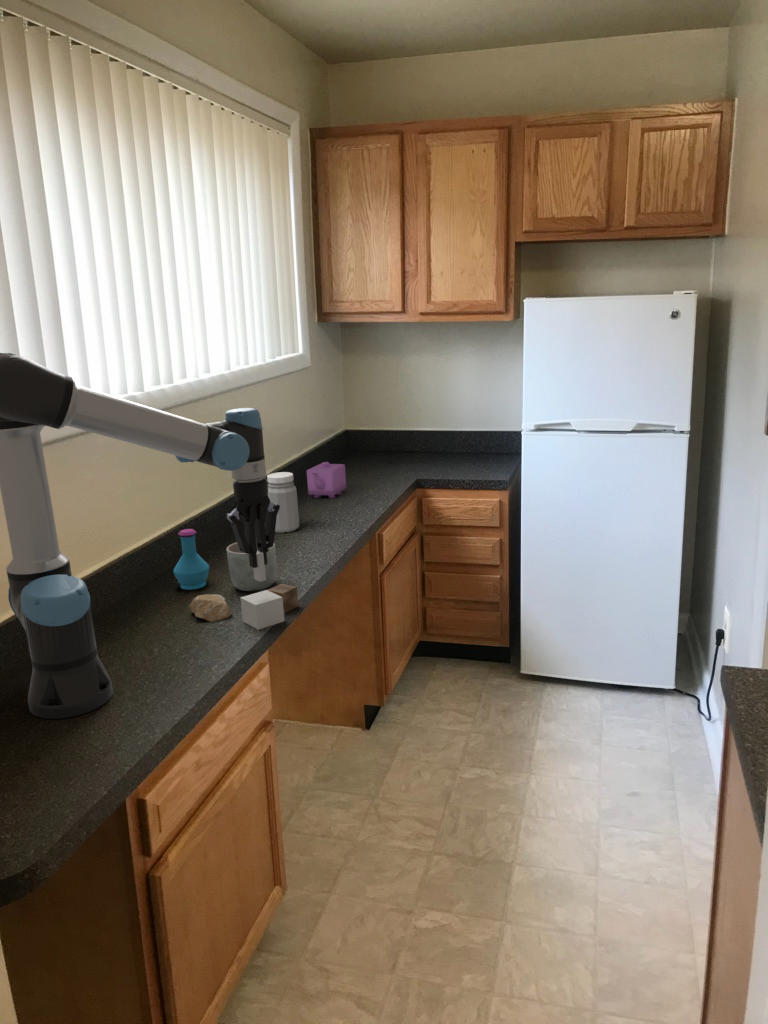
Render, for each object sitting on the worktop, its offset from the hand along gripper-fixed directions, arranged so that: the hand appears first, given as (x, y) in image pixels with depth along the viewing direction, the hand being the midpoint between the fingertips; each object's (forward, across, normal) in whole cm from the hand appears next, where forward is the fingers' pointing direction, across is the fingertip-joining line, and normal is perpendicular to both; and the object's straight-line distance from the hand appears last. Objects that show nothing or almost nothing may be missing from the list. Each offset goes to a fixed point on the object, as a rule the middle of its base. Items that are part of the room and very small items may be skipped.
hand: (260, 579), depth 192 cm
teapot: (+11, +81, +91) cm, 122 cm away
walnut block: (+10, +8, +4) cm, 14 cm away
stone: (+11, -7, +13) cm, 18 cm away
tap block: (+10, 0, 0) cm, 10 cm away
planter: (+10, +11, +23) cm, 27 cm away
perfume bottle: (+10, 0, +36) cm, 37 cm away
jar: (+11, +46, +64) cm, 79 cm away
